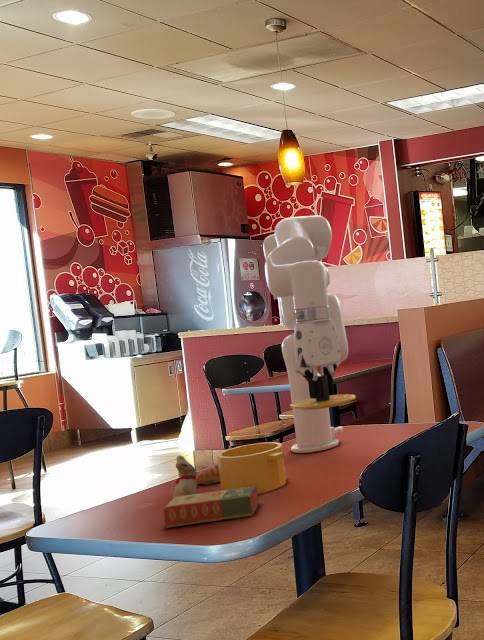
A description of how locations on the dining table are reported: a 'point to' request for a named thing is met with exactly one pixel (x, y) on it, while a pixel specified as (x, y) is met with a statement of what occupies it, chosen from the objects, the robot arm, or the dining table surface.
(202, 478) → the pastry
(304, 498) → the dining table surface
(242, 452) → the pot
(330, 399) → the lid
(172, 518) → the carton
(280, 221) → the robot arm
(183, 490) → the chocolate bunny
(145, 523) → the dining table surface
